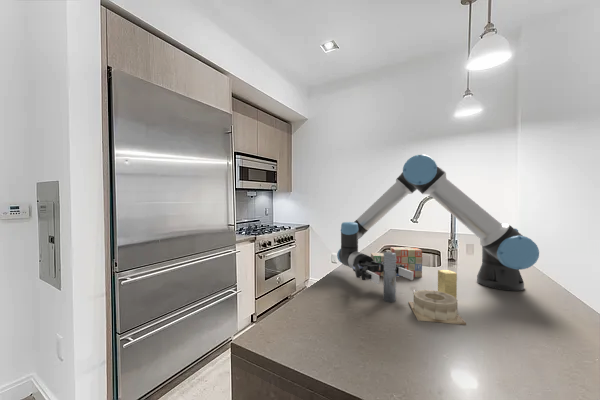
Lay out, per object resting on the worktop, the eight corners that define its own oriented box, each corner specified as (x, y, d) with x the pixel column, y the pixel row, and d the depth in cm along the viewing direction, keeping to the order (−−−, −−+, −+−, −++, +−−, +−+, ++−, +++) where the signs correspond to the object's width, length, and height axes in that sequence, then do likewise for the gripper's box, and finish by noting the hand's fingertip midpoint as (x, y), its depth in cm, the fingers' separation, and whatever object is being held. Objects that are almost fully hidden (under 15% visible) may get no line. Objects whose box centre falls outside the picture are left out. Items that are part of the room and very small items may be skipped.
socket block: (449, 306, 83) (449, 291, 83) (466, 324, 71) (466, 306, 71) (408, 303, 86) (408, 288, 86) (417, 320, 74) (417, 302, 74)
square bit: (448, 298, 90) (449, 269, 90) (456, 303, 86) (456, 273, 86) (437, 298, 90) (437, 270, 90) (444, 303, 86) (445, 273, 86)
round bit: (394, 298, 90) (394, 252, 90) (396, 302, 86) (396, 254, 86) (382, 297, 91) (383, 251, 91) (384, 301, 87) (384, 254, 87)
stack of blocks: (373, 276, 116) (373, 249, 116) (370, 272, 122) (370, 246, 122) (422, 277, 115) (422, 249, 115) (416, 273, 121) (417, 247, 121)
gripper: (386, 269, 110) (425, 285, 90) (333, 274, 102) (363, 293, 82) (386, 251, 110) (425, 263, 89) (333, 255, 102) (363, 269, 82)
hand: (396, 277), depth 86 cm, fingers open, 13 cm apart
